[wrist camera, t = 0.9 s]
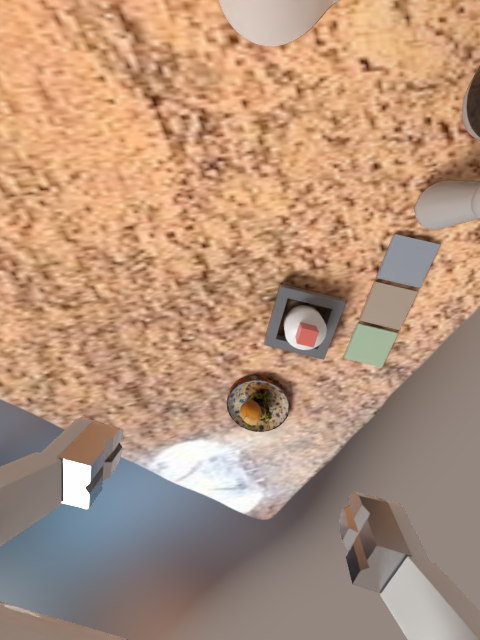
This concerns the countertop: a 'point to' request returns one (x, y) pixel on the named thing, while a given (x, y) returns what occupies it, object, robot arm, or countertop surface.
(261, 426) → the bowl of food
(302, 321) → the dome
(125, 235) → the countertop surface
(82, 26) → the countertop surface
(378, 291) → the track
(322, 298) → the button housing
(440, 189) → the salt shaker
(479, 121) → the dark grey egg device
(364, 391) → the countertop surface
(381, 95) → the countertop surface
